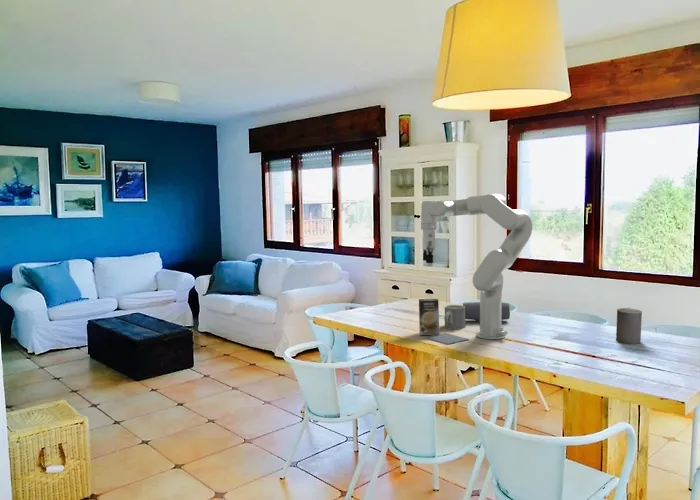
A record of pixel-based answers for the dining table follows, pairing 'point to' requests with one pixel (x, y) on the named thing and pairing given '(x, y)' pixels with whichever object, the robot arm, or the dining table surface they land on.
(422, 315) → the coffee box
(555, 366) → the dining table surface
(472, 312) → the bluetooth speaker
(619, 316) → the pillar candle
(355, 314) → the dining table surface
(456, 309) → the coffee mug
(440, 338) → the mat
